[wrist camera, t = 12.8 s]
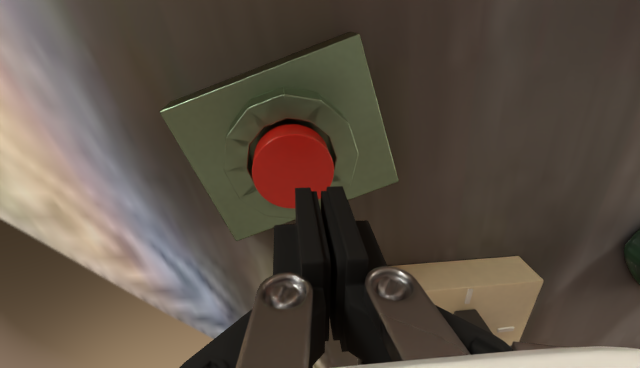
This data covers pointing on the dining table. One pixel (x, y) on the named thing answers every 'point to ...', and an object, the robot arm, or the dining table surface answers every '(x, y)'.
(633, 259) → the coffee jar
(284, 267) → the robot arm
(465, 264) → the panel
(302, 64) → the button housing
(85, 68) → the dining table surface
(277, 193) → the red button
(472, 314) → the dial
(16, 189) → the dining table surface
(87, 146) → the dining table surface
